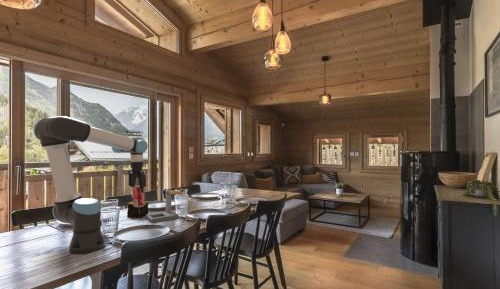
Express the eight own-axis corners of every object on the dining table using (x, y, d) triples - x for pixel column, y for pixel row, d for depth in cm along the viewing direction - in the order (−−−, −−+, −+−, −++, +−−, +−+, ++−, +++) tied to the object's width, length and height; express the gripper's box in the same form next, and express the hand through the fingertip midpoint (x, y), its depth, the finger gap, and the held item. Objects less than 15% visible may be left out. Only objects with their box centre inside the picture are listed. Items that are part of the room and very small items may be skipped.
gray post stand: (151, 222, 176) (150, 199, 176) (145, 217, 188) (145, 195, 187) (178, 218, 186) (178, 195, 186) (171, 213, 198) (171, 192, 198)
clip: (164, 193, 193) (164, 188, 193) (167, 192, 196) (167, 188, 196) (182, 195, 187) (181, 190, 187) (185, 194, 190) (185, 189, 190)
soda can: (142, 207, 173) (141, 186, 173) (131, 207, 173) (130, 187, 173) (147, 204, 180) (146, 185, 180) (136, 205, 180) (135, 185, 180)
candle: (126, 217, 189) (126, 203, 189) (136, 214, 199) (136, 200, 199) (139, 218, 186) (138, 204, 186) (148, 215, 196) (148, 200, 196)
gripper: (121, 161, 177) (122, 197, 177) (142, 162, 168) (143, 199, 169) (131, 160, 183) (132, 195, 184) (152, 161, 175) (152, 197, 175)
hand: (137, 197), depth 176 cm, fingers closed on soda can, 6 cm apart
